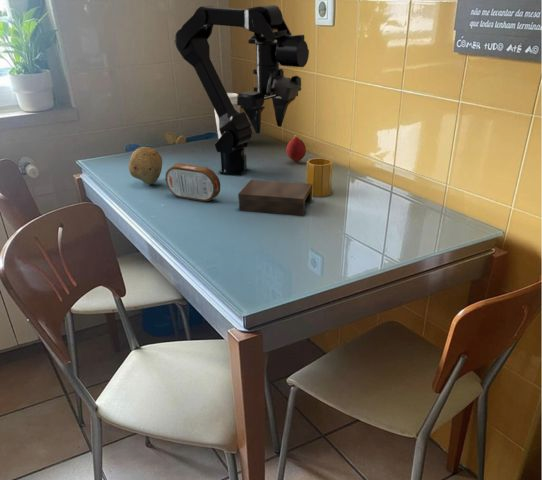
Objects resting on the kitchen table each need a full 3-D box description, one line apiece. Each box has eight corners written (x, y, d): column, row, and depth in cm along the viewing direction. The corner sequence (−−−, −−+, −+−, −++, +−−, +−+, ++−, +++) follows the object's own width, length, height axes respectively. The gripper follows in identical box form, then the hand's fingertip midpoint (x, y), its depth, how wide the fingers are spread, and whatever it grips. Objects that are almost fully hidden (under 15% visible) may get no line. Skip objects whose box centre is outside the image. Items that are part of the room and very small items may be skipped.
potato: (134, 191, 145) (128, 153, 139) (129, 181, 152) (122, 144, 146) (168, 186, 148) (163, 149, 142) (161, 177, 154) (156, 141, 149)
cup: (309, 197, 139) (310, 166, 135) (304, 189, 145) (304, 158, 140) (333, 196, 140) (335, 164, 135) (327, 187, 145) (329, 157, 141)
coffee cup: (211, 146, 180) (208, 97, 171) (218, 139, 188) (215, 92, 179) (239, 147, 179) (237, 98, 170) (245, 140, 186) (243, 92, 178)
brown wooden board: (239, 210, 132) (238, 193, 130) (251, 195, 141) (251, 179, 139) (303, 216, 129) (303, 198, 127) (311, 200, 138) (312, 183, 135)
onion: (305, 160, 166) (306, 132, 162) (305, 165, 161) (305, 137, 157) (287, 159, 167) (287, 132, 162) (285, 165, 162) (285, 137, 157)
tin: (222, 200, 138) (219, 167, 133) (216, 204, 136) (213, 171, 131) (172, 192, 144) (168, 160, 139) (165, 196, 141) (161, 164, 136)
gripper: (269, 72, 126) (270, 142, 135) (315, 62, 138) (313, 127, 147) (233, 68, 132) (237, 135, 141) (280, 59, 143) (281, 121, 152)
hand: (268, 129), depth 145 cm, fingers open, 9 cm apart
